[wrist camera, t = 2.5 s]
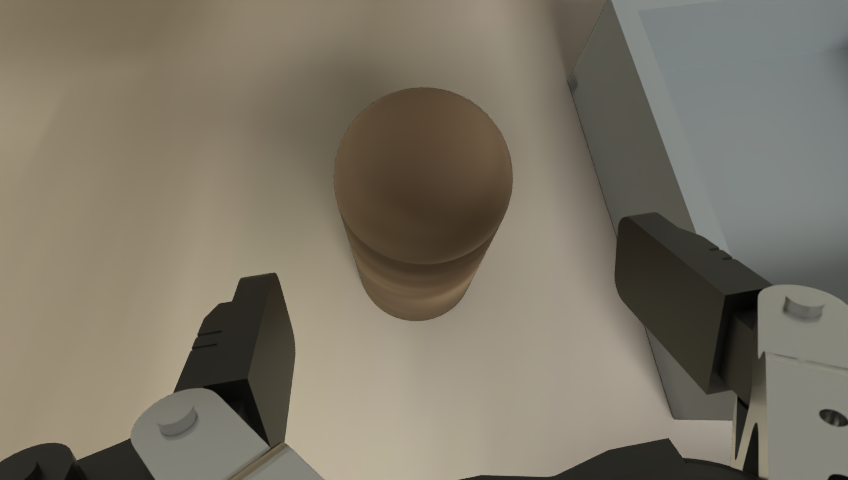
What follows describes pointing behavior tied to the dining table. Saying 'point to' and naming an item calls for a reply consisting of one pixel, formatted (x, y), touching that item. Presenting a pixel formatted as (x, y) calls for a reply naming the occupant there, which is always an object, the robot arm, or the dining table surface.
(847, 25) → the bin
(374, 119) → the pepper mill
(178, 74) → the dining table surface
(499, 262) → the dining table surface
